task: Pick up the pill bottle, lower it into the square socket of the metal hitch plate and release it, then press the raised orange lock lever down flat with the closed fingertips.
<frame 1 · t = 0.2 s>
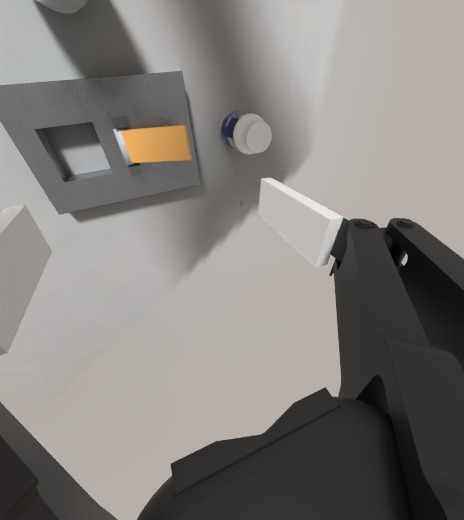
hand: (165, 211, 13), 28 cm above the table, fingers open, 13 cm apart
pill bottle: (233, 129, 38), on the table
hitch plate: (116, 143, 33), on the table
lock lever: (153, 145, 30), point 6 cm above the table, hinge at 28.3°
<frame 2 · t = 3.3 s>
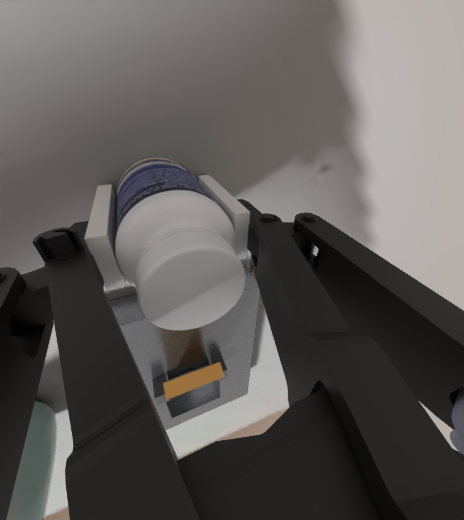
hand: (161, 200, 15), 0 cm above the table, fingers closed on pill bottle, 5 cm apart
pill bottle: (160, 197, 15), on the table, touching gripper
hitch plate: (184, 353, 26), on the table
cup: (15, 409, 21), on the table
lock lever: (192, 378, 19), point 6 cm above the table, hinge at 27.4°
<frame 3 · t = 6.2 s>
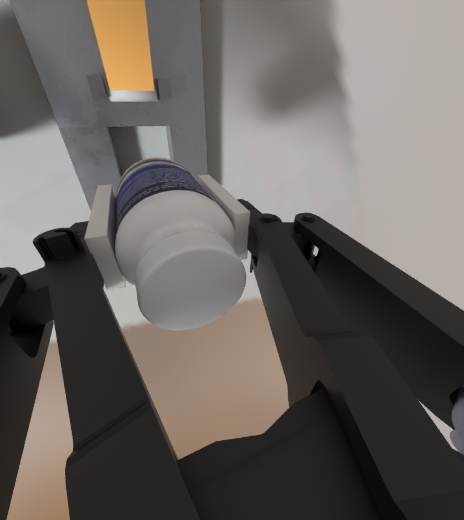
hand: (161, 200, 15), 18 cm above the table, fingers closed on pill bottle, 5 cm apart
pill bottle: (160, 197, 15), point 17 cm above the table, touching gripper
hitch plate: (134, 105, 25), on the table
lock lever: (122, 36, 18), point 6 cm above the table, hinge at 27.4°
when the fingers open (4 cm above the table, at t = 9.1 s): pill bottle drops 3 cm, resting in hitch plate.
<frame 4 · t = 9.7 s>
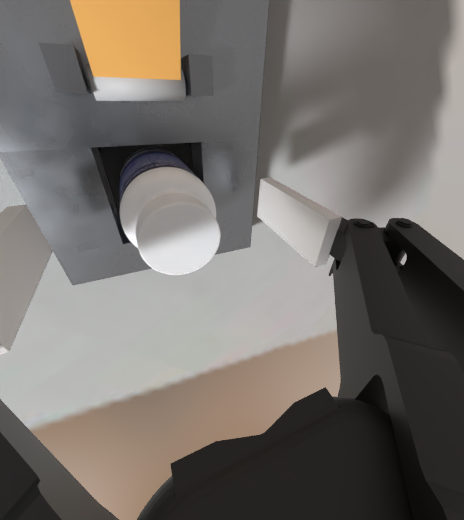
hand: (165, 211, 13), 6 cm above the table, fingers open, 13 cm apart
pill bottle: (156, 182, 18), resting in hitch plate
hitch plate: (140, 107, 15), on the table
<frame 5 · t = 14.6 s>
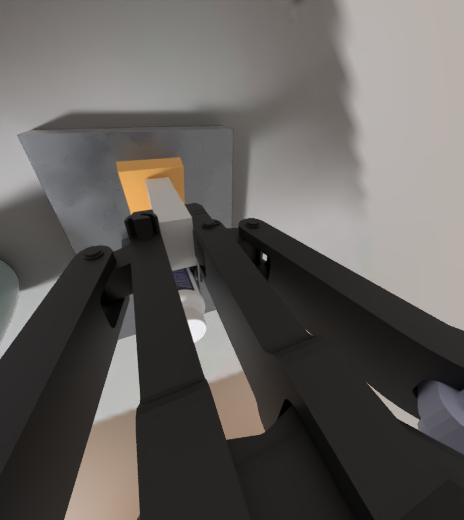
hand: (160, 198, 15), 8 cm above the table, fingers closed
pill bottle: (168, 271, 28), resting in hitch plate
hitch plate: (160, 239, 25), on the table
lock lever: (159, 217, 18), point 5 cm above the table, hinge at 22.7°, touching gripper
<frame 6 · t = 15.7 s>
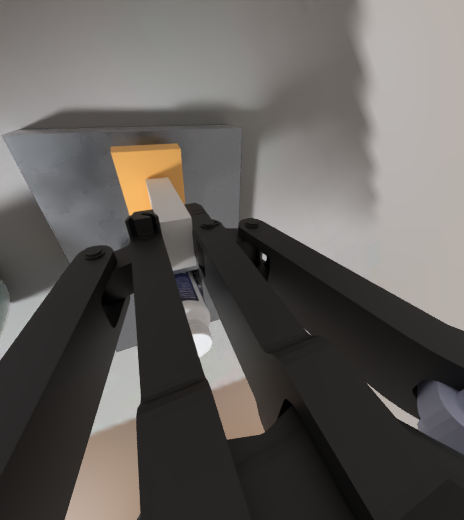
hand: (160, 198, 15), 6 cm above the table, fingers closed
pill bottle: (170, 279, 27), resting in hitch plate
hitch plate: (162, 246, 24), on the table
lock lever: (158, 215, 17), point 4 cm above the table, hinge at 9.5°, touching gripper
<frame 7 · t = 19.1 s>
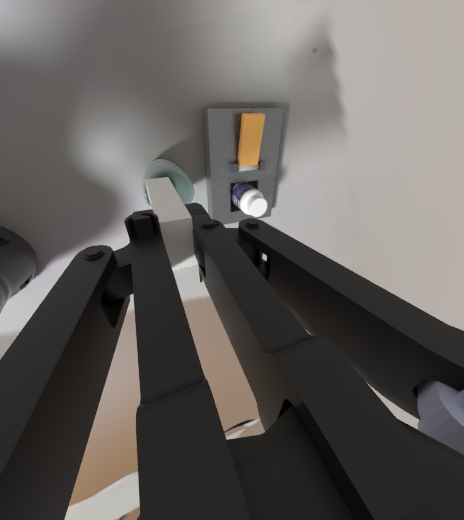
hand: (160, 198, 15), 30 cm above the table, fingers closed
pill bottle: (238, 191, 51), resting in hitch plate
hitch plate: (239, 169, 48), on the table
cup: (161, 176, 43), on the table
lock lever: (250, 144, 41), point 4 cm above the table, hinge at 9.3°
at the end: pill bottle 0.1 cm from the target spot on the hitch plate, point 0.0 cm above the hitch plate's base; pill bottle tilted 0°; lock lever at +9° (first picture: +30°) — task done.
